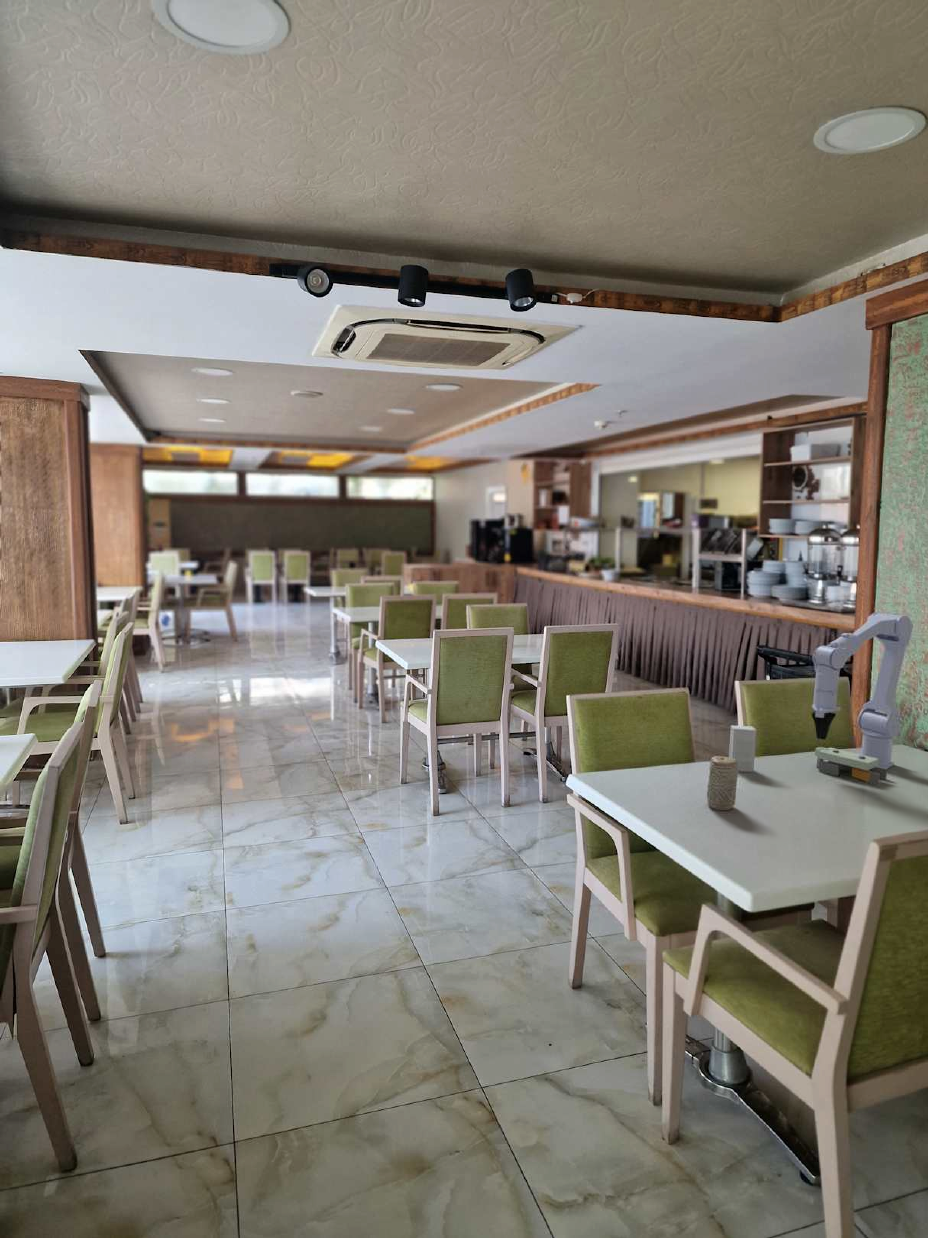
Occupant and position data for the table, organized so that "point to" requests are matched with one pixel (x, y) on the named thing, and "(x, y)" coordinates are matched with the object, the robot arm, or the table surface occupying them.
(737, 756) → the skincare box
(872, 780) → the long grey beam
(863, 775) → the orange cuboid brick
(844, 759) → the cover
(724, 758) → the carving
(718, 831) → the table surface
